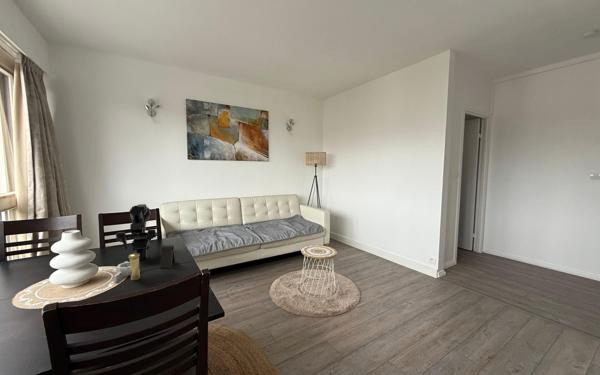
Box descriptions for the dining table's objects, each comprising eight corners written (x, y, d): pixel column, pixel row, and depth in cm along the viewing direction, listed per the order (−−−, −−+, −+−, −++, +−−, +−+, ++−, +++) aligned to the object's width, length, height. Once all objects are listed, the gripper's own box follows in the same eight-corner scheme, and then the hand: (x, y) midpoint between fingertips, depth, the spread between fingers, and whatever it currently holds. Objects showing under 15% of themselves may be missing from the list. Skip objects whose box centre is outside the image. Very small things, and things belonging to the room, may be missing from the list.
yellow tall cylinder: (131, 277, 133) (130, 253, 131) (141, 275, 134) (140, 252, 133) (128, 281, 128) (127, 257, 127) (139, 279, 130) (138, 256, 128)
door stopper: (170, 268, 144) (170, 248, 143) (159, 268, 144) (158, 248, 142) (176, 261, 153) (175, 243, 152) (165, 262, 152) (165, 243, 151)
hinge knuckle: (123, 266, 145) (122, 258, 145) (139, 264, 148) (139, 257, 148) (111, 282, 127) (111, 273, 126) (130, 279, 130) (130, 271, 129)
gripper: (115, 218, 135) (112, 244, 127) (154, 215, 144) (154, 239, 135) (119, 228, 143) (116, 253, 135) (156, 225, 152) (155, 248, 143)
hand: (136, 248), depth 137 cm, fingers open, 9 cm apart
